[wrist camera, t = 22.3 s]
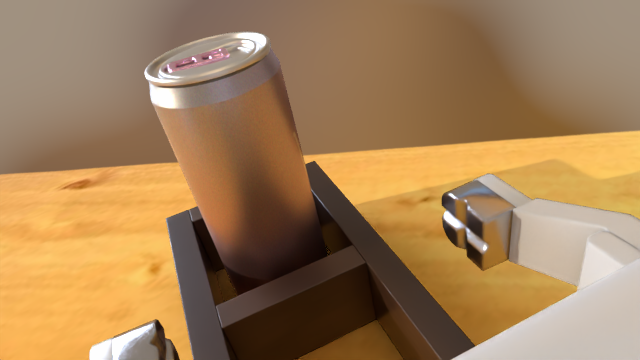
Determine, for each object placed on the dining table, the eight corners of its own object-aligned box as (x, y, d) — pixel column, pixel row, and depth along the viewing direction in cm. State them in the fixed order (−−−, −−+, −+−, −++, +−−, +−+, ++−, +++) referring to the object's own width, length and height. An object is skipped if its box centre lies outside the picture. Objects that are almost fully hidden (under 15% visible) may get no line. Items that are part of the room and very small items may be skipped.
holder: (274, 620, 15) (236, 581, 13) (190, 267, 31) (165, 218, 28) (519, 465, 18) (528, 406, 15) (326, 210, 33) (314, 160, 31)
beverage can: (232, 270, 30) (140, 54, 21) (315, 239, 31) (257, 21, 22) (249, 340, 25) (138, 96, 16) (347, 299, 26) (289, 51, 17)
